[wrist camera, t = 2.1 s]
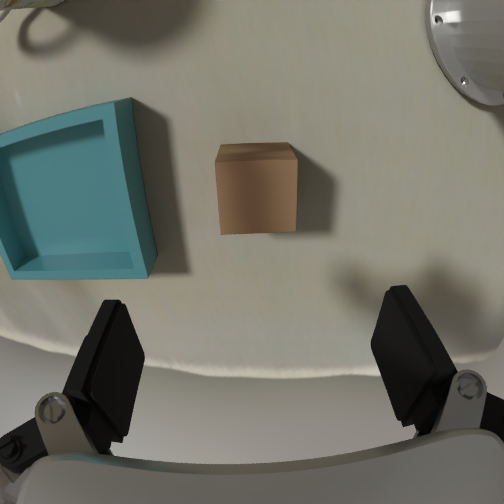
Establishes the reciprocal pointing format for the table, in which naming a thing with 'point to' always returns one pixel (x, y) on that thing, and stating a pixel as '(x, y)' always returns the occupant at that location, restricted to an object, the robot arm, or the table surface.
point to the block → (256, 188)
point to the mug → (24, 5)
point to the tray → (75, 197)
